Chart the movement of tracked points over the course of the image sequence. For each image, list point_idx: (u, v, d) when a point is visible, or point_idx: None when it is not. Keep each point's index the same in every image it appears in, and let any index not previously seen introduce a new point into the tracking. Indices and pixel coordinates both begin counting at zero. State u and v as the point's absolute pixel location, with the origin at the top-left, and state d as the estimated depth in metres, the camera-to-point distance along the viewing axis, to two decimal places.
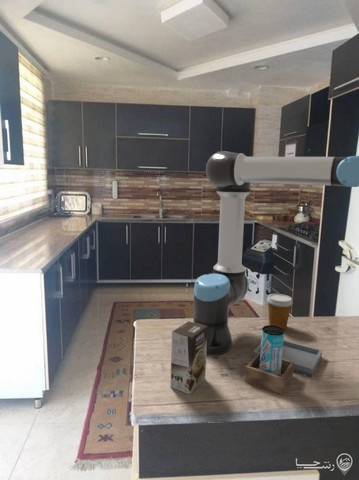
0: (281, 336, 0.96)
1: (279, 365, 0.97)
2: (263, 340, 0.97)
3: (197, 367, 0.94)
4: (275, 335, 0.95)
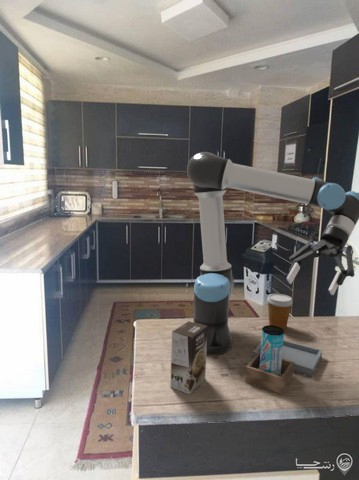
0: (281, 336, 0.96)
1: (279, 365, 0.97)
2: (262, 340, 0.97)
3: (197, 367, 0.94)
4: (275, 335, 0.95)
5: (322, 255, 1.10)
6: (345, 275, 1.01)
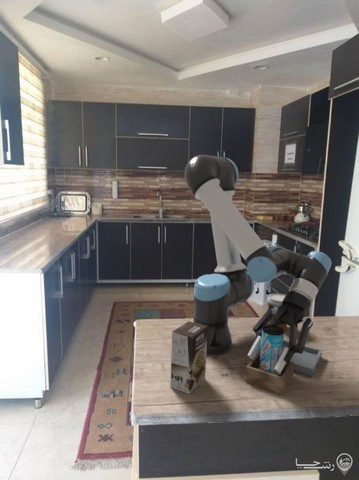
0: (281, 336, 0.96)
1: None
2: (263, 340, 0.97)
3: (197, 367, 0.94)
4: (275, 335, 0.95)
5: (282, 322, 1.03)
6: (293, 352, 0.95)
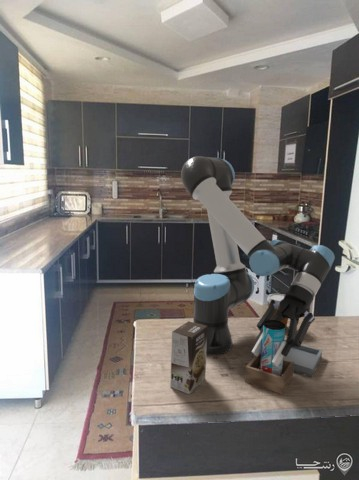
0: (282, 330, 0.95)
1: (281, 360, 0.97)
2: (264, 334, 0.97)
3: (197, 367, 0.94)
4: (277, 329, 0.95)
5: (284, 316, 1.02)
6: (291, 345, 0.95)
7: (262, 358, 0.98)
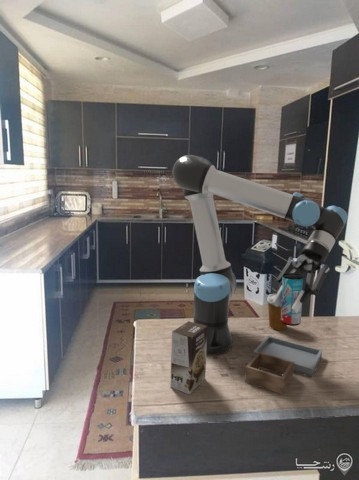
0: (300, 280, 1.04)
1: None
2: (283, 285, 1.06)
3: (197, 367, 0.94)
4: (295, 279, 1.03)
5: (302, 270, 1.11)
6: (308, 294, 1.03)
7: (282, 307, 1.07)
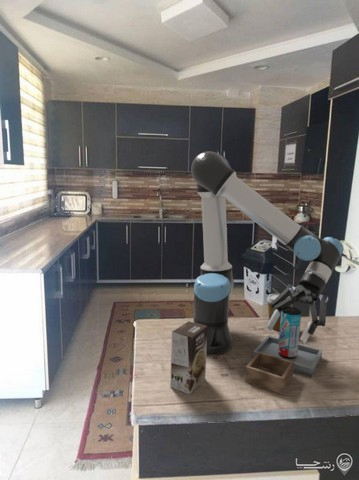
0: (299, 316, 1.08)
1: (296, 342, 1.09)
2: (282, 319, 1.09)
3: (197, 367, 0.94)
4: (294, 315, 1.07)
5: (300, 301, 1.14)
6: (316, 325, 1.05)
7: (280, 340, 1.11)
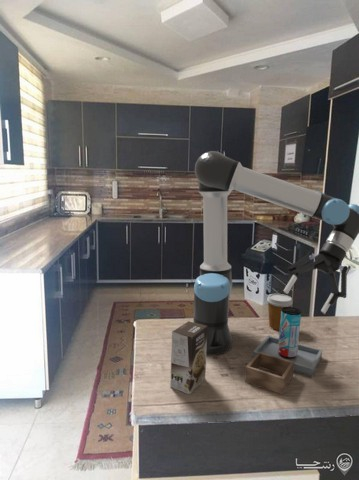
0: (298, 316, 1.08)
1: (296, 342, 1.09)
2: (282, 319, 1.09)
3: (197, 367, 0.94)
4: (294, 315, 1.07)
5: (319, 270, 1.16)
6: (338, 296, 1.09)
7: (280, 340, 1.11)
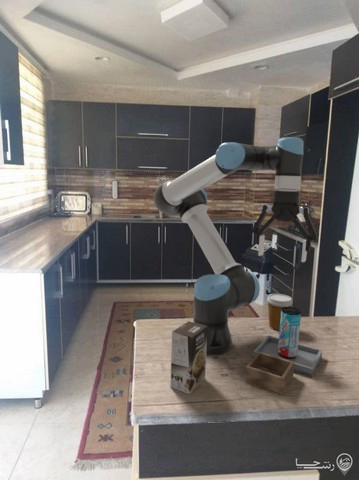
0: (298, 316, 1.08)
1: (296, 342, 1.09)
2: (282, 319, 1.09)
3: (197, 367, 0.94)
4: (294, 314, 1.07)
5: None
6: None
7: (280, 340, 1.11)
